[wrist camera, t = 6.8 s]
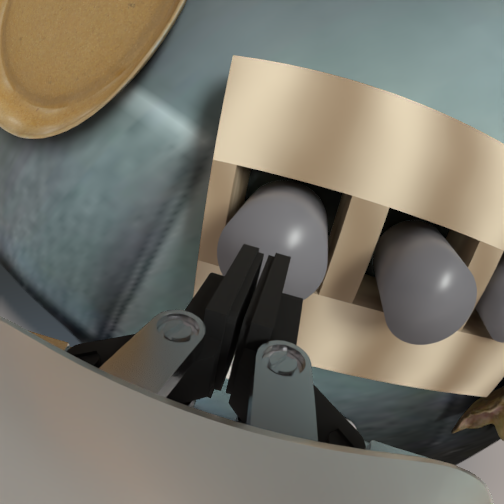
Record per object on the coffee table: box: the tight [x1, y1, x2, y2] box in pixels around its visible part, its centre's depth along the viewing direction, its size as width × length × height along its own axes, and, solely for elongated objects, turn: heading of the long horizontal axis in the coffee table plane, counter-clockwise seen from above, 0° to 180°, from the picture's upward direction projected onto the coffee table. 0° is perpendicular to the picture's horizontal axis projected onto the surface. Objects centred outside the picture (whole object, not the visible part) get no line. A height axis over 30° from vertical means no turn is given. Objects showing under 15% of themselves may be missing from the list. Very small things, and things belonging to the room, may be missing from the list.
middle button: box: [372, 220, 477, 345], centre depth 14 cm, size 5×5×5 cm
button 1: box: [217, 180, 328, 300], centre depth 15 cm, size 5×5×5 cm
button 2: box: [475, 251, 504, 343], centre depth 15 cm, size 5×5×5 cm
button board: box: [193, 55, 504, 397], centre depth 17 cm, size 23×16×4 cm
